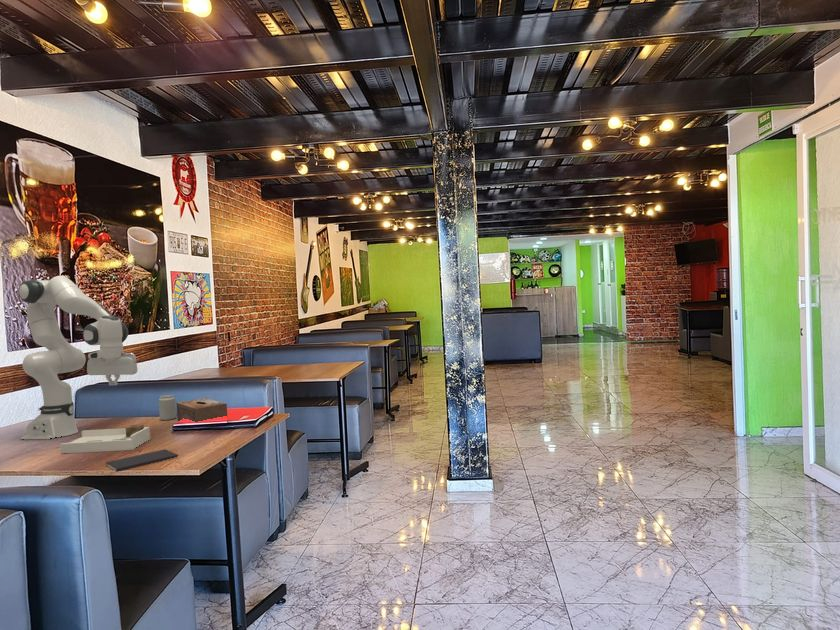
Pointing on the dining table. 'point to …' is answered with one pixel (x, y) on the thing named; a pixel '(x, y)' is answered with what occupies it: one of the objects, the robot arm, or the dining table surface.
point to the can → (167, 407)
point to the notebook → (140, 460)
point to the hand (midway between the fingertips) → (113, 385)
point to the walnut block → (133, 429)
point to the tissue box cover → (201, 409)
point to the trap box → (106, 441)
